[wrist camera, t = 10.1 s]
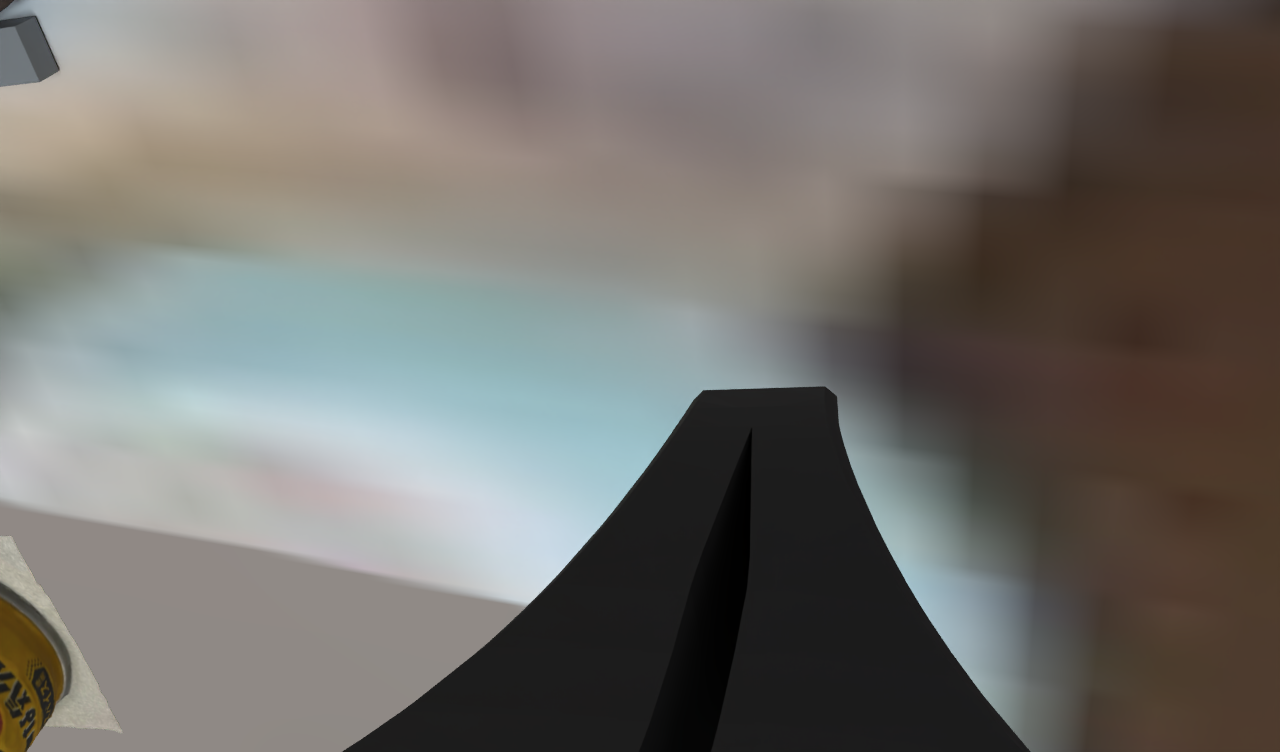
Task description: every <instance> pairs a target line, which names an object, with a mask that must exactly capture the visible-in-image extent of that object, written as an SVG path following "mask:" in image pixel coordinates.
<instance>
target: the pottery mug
mask: <svg viewBox="0 0 1280 752" xmlns="http://www.w3.org/2000/svg"><path fill="white" fill-rule="evenodd" d="M11 2H13V0H0V12H1V11H2V10H3V9H5V8H6V7H7V6H8V5H9V4H10V3H11Z"/></svg>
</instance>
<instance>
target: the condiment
mask: <svg viewBox="0 0 1280 752" xmlns="http://www.w3.org/2000/svg"><path fill="white" fill-rule="evenodd" d="M44 726H47V727H74V728H78V729H87V728H95V729H105V730H114V731H117V732H119V733H123V732H122V730H121V727H120V725H119V723H118V722H117V721H116V719H115V716H114V715H113V714H112V711H111V709H110V708H109V706H108V702H107V700H106V698H105V697H104V695H103V694H102V693H101V691H100V688H99V684H98V682H97V681H96V679H95V677H94V675H93V673H92V671H91V669H90V667H89V666H88V665H87V663H86V661H85V659H84V657H83V654H82V652H81V651H80V649H79V647H78V645H77V644H76V642H75V640H74V639H73V637H72V636H71V635H70V633H69V631H68V629H67V628H66V625H65V623H64V622H63V621H62V620H61V618H60V616H59V613H58V612H57V610H56V608H55V607H54V605H53V603H52V602H51V600H50V598H49V597H48V596H47V595H46V594H45V592H44V590H43V588H42V586H41V585H39V584H38V583H37V582H36V580H35V578H34V576H33V574H32V572H31V570H30V569H29V567H28V566H27V564H26V562H25V560H24V559H23V557H22V555H21V554H20V551H19V550H18V548H17V546H16V544H15V542H14V540H13V538H12V536H0V752H27V750H28V748H29V747H30V746H31V745H32V743H33V741H34V740H35V737H36V736H37V735H38V734H39V732H40V730H41V729H42V728H43V727H44Z"/></svg>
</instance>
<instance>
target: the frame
mask: <svg viewBox="0 0 1280 752" xmlns="http://www.w3.org/2000/svg"><path fill="white" fill-rule="evenodd" d="M58 71H59V70H58V68H57V65H56V63H55V61H54V58H53V56H52V54H51V52H50V49H49V47H48V45H47V43H46V40H45V38H44V36H43V33H42V31H41V29H40V27H39V24H38V22H37V20H36V18H35V16H34V17H26V18H19V19H11V20H4V21H0V87H2V86H11V85H19V84H27V83H36V82H41V81H42V80H44V79H46V78H47V77H49V76H51V75H53V74H54V73H56V72H58Z"/></svg>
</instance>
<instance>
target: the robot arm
mask: <svg viewBox="0 0 1280 752" xmlns="http://www.w3.org/2000/svg"><path fill="white" fill-rule="evenodd" d="M343 752H1030V751H1029V749H1028V748H1027V747H1026V746H1025V745H1024V744H1023V742H1022V741H1021V740H1020V739H1019V738H1018V736H1017V735H1016V734H1015V733H1014V732H1013V730H1012V729H1011V728H1010V727H1009V726H1008V725H1007V723H1006V722H1005V721H1004V720H1003V719H1002V717H1001V716H1000V715H999V714H998V713H997V712H996V710H995V709H994V708H993V707H992V706H991V704H990V703H989V702H988V701H987V700H986V698H985V697H984V696H983V695H982V693H981V692H980V691H979V689H978V688H977V687H976V685H975V684H974V683H973V681H972V680H971V679H970V677H969V676H968V675H967V673H966V672H965V670H964V669H963V668H962V666H961V665H960V664H959V662H958V661H957V660H956V658H955V657H954V655H953V654H952V653H951V651H950V650H949V648H948V647H947V645H946V644H945V642H944V641H943V639H942V638H941V636H940V635H939V634H938V632H937V631H936V629H935V628H934V626H933V625H932V623H931V622H930V620H929V619H928V617H927V615H926V614H925V612H924V611H923V609H922V607H921V606H920V604H919V603H918V601H917V599H916V598H915V596H914V594H913V593H912V591H911V589H910V588H909V586H908V584H907V583H906V581H905V579H904V577H903V575H902V574H901V572H900V570H899V568H898V566H897V565H896V563H895V561H894V559H893V557H892V555H891V554H890V552H889V550H888V548H887V546H886V544H885V542H884V540H883V538H882V536H881V534H880V532H879V530H878V528H877V526H876V524H875V522H874V520H873V517H872V515H871V513H870V511H869V508H868V506H867V504H866V502H865V499H864V497H863V495H862V493H861V490H860V488H859V486H858V483H857V481H856V478H855V475H854V473H853V470H852V468H851V465H850V462H849V459H848V456H847V452H846V449H845V446H844V443H843V439H842V436H841V432H840V427H839V420H838V405H837V396H836V395H835V394H833V393H832V392H831V391H830V390H829V389H827V388H826V387H794V388H762V389H731V390H703V391H702V392H701V393H700V394H699V395H698V396H697V397H696V398H695V399H694V400H693V402H692V403H691V405H690V406H689V408H688V409H687V411H686V413H685V414H684V416H683V417H682V418H681V420H680V421H679V423H678V424H677V426H676V427H675V429H674V430H673V432H672V433H671V435H670V436H669V438H668V439H667V440H666V442H665V443H664V445H663V446H662V448H661V449H660V450H659V452H658V453H657V455H656V456H655V457H654V459H653V460H652V461H651V463H650V464H649V466H648V467H647V468H646V470H645V471H644V472H643V474H642V475H641V476H640V478H639V479H638V480H637V481H636V483H635V484H634V485H633V487H632V488H631V489H630V490H629V492H628V493H627V494H626V496H625V497H624V498H623V499H622V501H621V502H620V503H619V505H618V506H617V507H616V508H615V510H614V511H613V512H612V514H611V515H610V516H609V517H608V518H607V520H606V521H605V522H604V523H603V524H602V526H601V527H600V528H599V529H598V530H597V531H596V533H595V534H594V535H593V536H592V537H591V538H590V539H589V540H588V542H587V543H586V544H585V545H584V546H583V547H582V548H581V550H580V551H579V552H578V553H577V554H576V555H575V556H574V557H573V559H572V560H571V561H570V562H569V563H568V564H567V565H566V566H565V568H564V569H563V570H562V571H561V572H560V573H559V574H558V575H557V576H556V577H555V579H554V580H553V581H552V582H551V583H550V584H549V585H548V586H547V587H546V588H545V589H544V590H543V591H542V592H541V593H540V594H539V595H538V596H537V597H536V598H535V599H534V600H533V601H532V602H531V603H530V604H529V605H528V606H527V607H526V608H525V609H524V610H523V611H522V612H521V613H520V614H519V615H518V616H517V617H515V618H514V619H513V620H512V621H511V622H510V623H509V624H508V625H507V626H506V627H505V628H504V629H503V630H502V631H500V632H499V633H498V634H497V635H496V636H495V637H494V638H493V639H492V640H491V641H490V642H488V643H487V644H486V645H485V646H484V647H483V648H481V649H480V650H479V651H478V652H477V653H476V654H474V655H473V656H472V657H471V658H469V659H468V660H467V661H465V662H464V663H463V664H462V665H460V666H459V667H458V668H457V669H455V670H454V671H453V672H452V673H451V674H449V675H448V676H447V677H445V678H444V679H443V680H442V681H440V682H439V683H438V684H437V685H435V686H434V687H433V688H431V689H430V690H429V691H428V692H427V693H425V694H424V695H423V696H422V697H420V698H419V699H418V700H416V701H415V702H414V703H412V704H411V705H410V706H408V707H407V708H406V709H404V710H403V711H402V712H400V713H399V714H397V715H396V716H394V717H393V718H391V719H390V720H389V721H387V722H386V723H384V724H383V725H381V726H380V727H379V728H377V729H376V730H374V731H373V732H371V733H370V734H369V735H367V736H366V737H364V738H363V739H361V740H360V741H358V742H356V743H355V744H353V745H352V746H350V747H349V748H347V749H346V750H344V751H343Z"/></svg>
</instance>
